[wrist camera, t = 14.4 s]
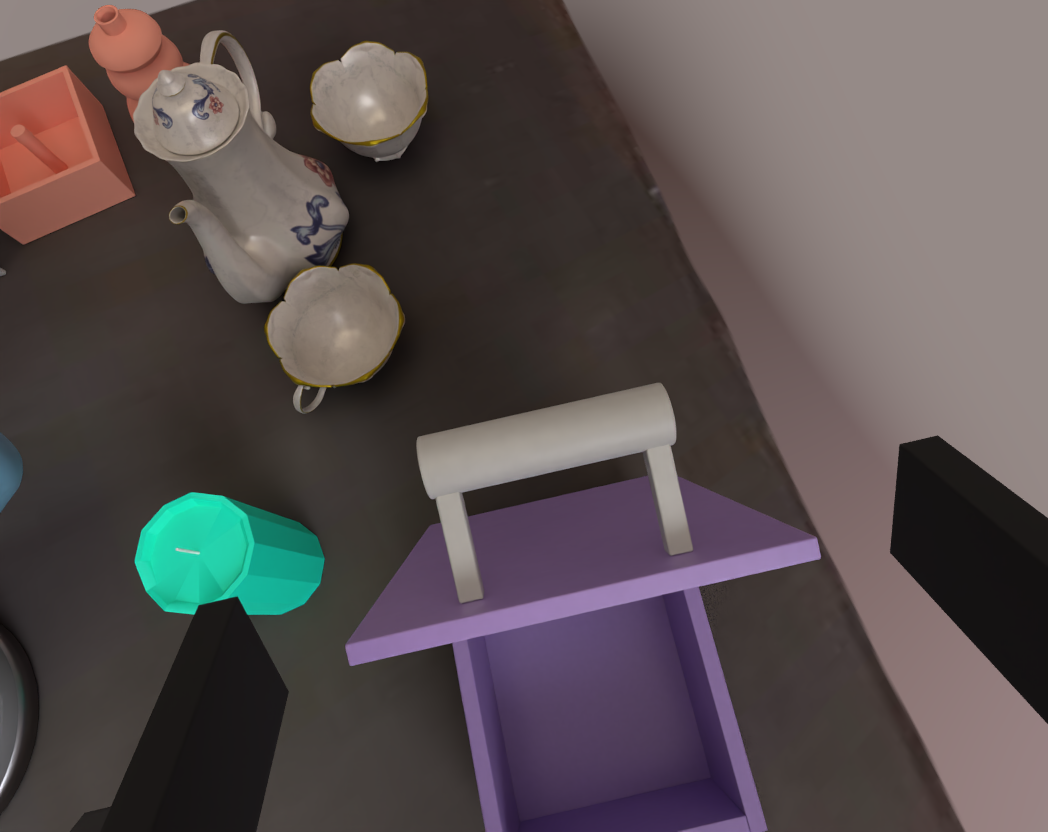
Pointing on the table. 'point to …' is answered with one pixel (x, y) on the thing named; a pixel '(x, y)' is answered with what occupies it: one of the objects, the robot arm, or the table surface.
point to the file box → (607, 724)
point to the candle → (227, 556)
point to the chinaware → (288, 199)
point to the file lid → (563, 528)
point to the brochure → (2, 272)
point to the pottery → (75, 130)
